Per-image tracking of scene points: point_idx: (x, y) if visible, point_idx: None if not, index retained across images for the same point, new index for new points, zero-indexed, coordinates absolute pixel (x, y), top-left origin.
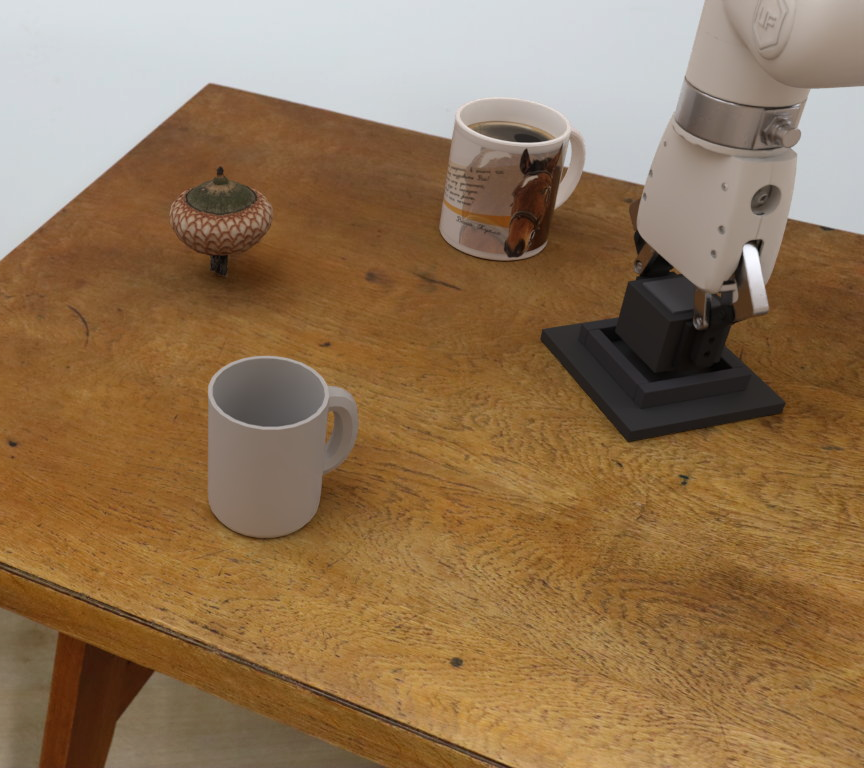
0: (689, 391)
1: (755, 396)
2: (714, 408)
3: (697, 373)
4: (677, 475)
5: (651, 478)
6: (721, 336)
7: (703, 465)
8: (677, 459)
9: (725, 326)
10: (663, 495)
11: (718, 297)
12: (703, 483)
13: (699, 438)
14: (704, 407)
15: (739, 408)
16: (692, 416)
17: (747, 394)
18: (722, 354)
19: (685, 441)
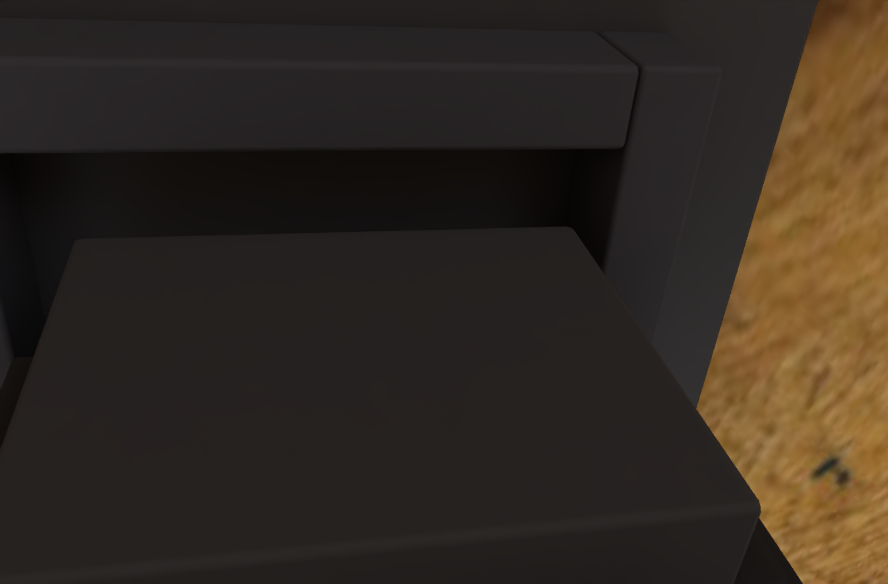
0: None
1: (729, 15)
2: (694, 274)
3: (447, 206)
4: (810, 480)
5: (777, 543)
6: (783, 557)
7: (828, 393)
8: (761, 451)
9: (757, 538)
10: (841, 540)
11: (514, 549)
12: (879, 430)
13: (726, 340)
14: (669, 312)
15: (754, 167)
16: (688, 384)
17: (698, 52)
18: (491, 130)
19: (711, 391)
